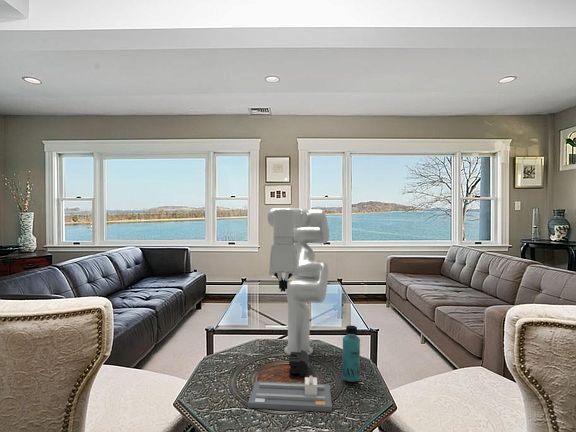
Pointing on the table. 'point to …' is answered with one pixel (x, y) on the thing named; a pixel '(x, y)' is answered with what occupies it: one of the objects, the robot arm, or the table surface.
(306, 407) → the breaker panel
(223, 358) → the table surface
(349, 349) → the beverage bottle
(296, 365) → the end cap
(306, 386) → the knob
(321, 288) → the robot arm
